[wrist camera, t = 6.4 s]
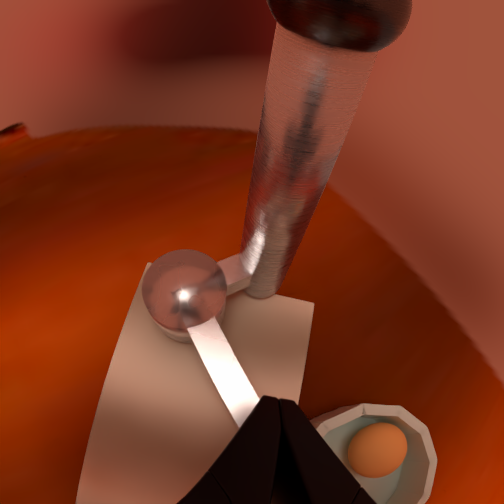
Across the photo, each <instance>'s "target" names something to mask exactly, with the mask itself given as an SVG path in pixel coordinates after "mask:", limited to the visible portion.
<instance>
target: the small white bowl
mask: <svg viewBox="0 0 504 504" xmlns="http://www.w3.org/2000/svg"><path fill="white" fill-rule="evenodd" d="M309 421H310V422H311V423H312V425H313V426H314V427H315V429H316V430H317V431H318V432H319V434H320V435H321V436H322V438H323V439H324V440H325V441H326V443H327V444H328V445H329V447H330V448H331V449H332V450H333V452H334V453H335V454H336V455H337V457H338V458H339V459H340V460H341V462H342V463H343V464H344V465H345V467H346V468H347V469H348V470H349V471H350V473H351V474H352V475H353V476H354V478H355V479H356V480H357V481H358V482H359V484H360V485H361V487H363V488H364V489H365V490H366V492H367V493H368V494H369V495H370V496H371V498H372V499H373V500H374V501H375V502H376V503H377V504H425V503H426V501H427V500H428V498H429V496H430V494H431V489H432V485H433V480H434V475H435V470H436V465H437V456H436V453H435V449H434V446H433V443H432V440H431V437H430V433H429V430H428V427H427V426H426V425H424V424H423V423H422V422H421V421H419V420H418V419H417V418H415V417H414V416H413V415H412V414H410V413H409V412H408V411H407V410H405V409H404V408H403V407H402V406H391V405H376V404H365V403H363V404H357V405H351V406H344V407H340V408H338V409H336V410H333V411H331V412H328V413H325V414H322V415H320V416H318V417H315V418H313V419H312V420H309ZM380 422H384V423H390V424H393V425H395V426H397V427H398V428H399V429H400V430H401V431H402V432H403V433H404V435H405V437H406V440H407V453H406V456H405V458H404V460H403V462H402V464H401V465H400V466H399V467H398V468H397V469H396V470H395V471H394V472H392V473H390V474H389V475H386V476H384V477H380V478H368V477H364V476H361V475H360V474H358V473H357V472H355V471H354V470H353V468H352V467H351V465H350V463H349V460H348V448H349V445H350V442H351V440H352V439H353V437H354V436H355V435H356V434H357V433H358V432H359V431H360V430H361V429H362V428H364V427H366V426H368V425H370V424H373V423H380ZM361 487H360V488H361Z"/></svg>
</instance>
